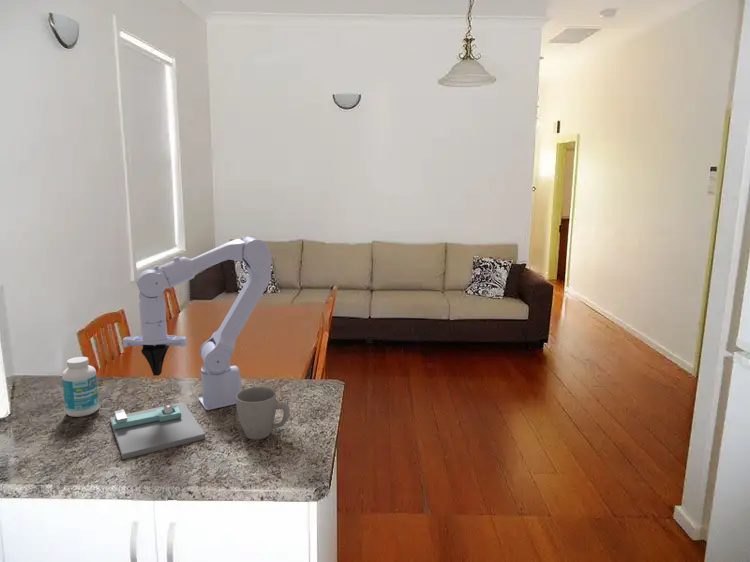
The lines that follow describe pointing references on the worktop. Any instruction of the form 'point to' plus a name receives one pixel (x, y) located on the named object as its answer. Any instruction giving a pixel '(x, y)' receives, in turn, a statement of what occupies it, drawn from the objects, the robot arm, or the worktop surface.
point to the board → (157, 433)
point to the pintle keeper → (122, 416)
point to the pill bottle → (80, 387)
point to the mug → (259, 411)
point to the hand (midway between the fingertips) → (157, 374)
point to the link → (148, 418)
